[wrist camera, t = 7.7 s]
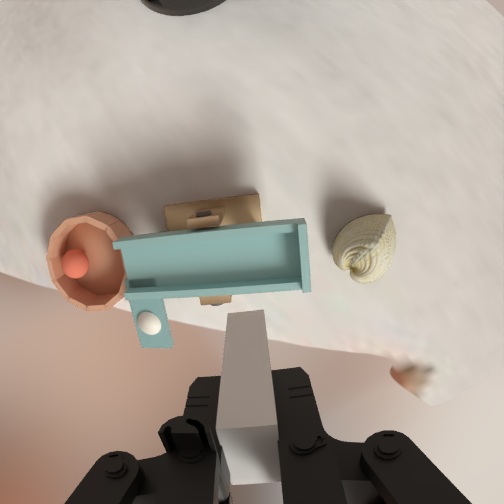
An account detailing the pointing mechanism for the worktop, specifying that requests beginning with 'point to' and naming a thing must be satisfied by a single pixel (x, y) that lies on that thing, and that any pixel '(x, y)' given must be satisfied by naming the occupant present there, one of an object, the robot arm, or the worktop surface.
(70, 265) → the ball
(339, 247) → the seashell
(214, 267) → the lever
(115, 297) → the bowl
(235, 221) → the stand
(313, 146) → the worktop surface
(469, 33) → the worktop surface
